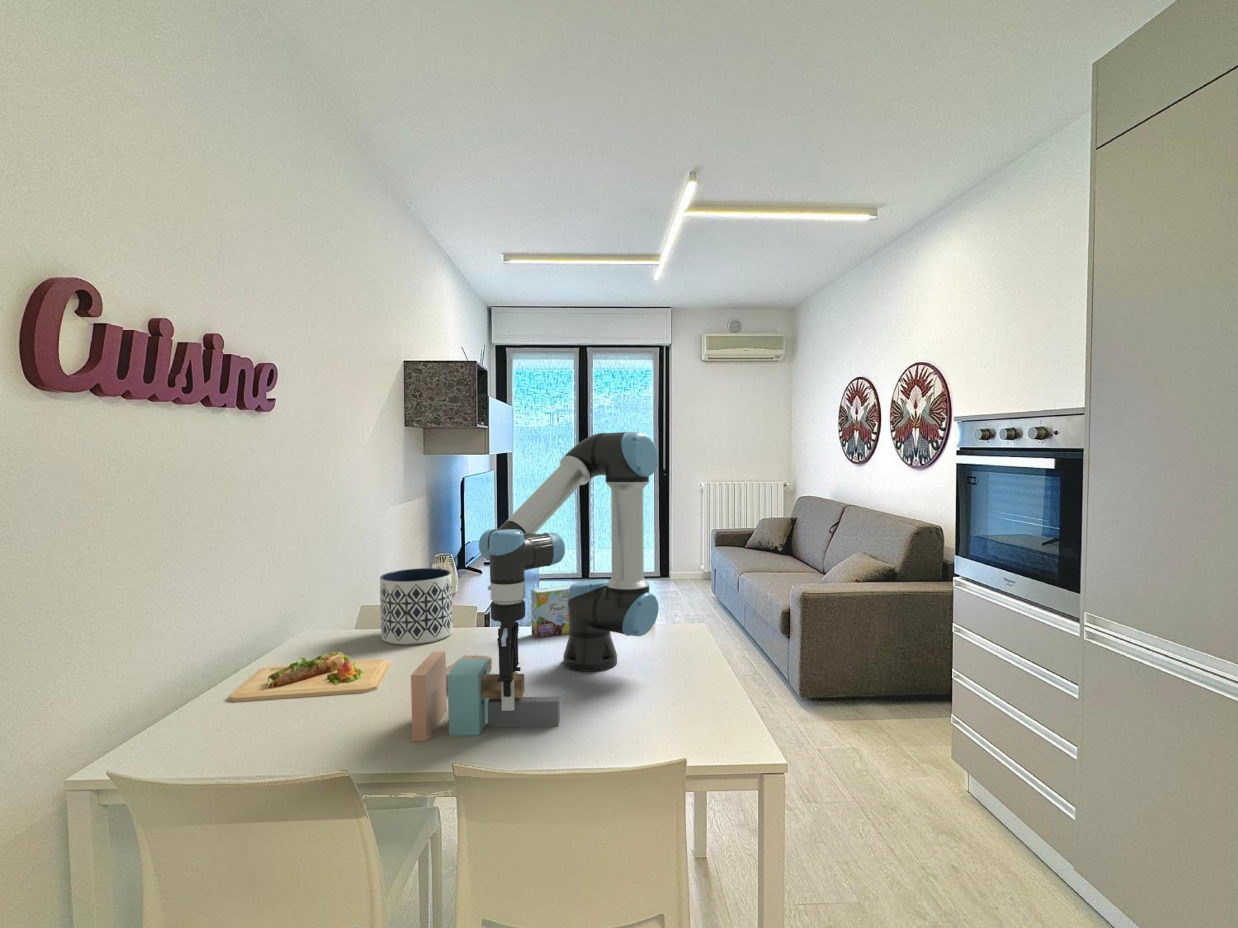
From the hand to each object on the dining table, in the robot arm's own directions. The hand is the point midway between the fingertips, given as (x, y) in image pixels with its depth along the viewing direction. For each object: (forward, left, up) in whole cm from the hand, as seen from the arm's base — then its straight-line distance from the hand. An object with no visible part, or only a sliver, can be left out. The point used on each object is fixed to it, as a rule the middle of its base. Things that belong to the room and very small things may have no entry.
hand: (509, 705), depth 148 cm
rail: (-3, 0, -4) cm, 5 cm away
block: (+9, 0, -4) cm, 10 cm away
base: (+18, 0, -4) cm, 18 cm away
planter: (+42, -71, -4) cm, 83 cm away
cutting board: (+57, -30, -5) cm, 64 cm away
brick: (+17, -28, -5) cm, 33 cm away
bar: (+3, 0, +2) cm, 4 cm away
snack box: (-6, -73, -5) cm, 73 cm away
